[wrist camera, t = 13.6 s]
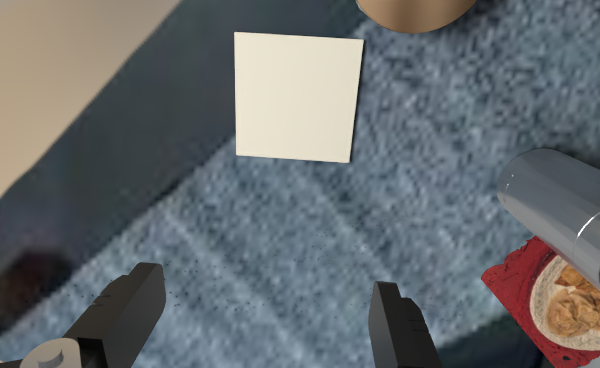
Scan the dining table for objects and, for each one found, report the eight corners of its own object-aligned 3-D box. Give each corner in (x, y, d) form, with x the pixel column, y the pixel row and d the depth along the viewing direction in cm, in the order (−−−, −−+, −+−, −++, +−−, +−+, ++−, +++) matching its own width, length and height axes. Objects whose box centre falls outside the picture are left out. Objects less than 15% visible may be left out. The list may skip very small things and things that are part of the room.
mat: (362, 39, 40) (363, 39, 39) (348, 161, 45) (348, 162, 45) (235, 32, 40) (234, 31, 39) (237, 153, 46) (236, 154, 45)
